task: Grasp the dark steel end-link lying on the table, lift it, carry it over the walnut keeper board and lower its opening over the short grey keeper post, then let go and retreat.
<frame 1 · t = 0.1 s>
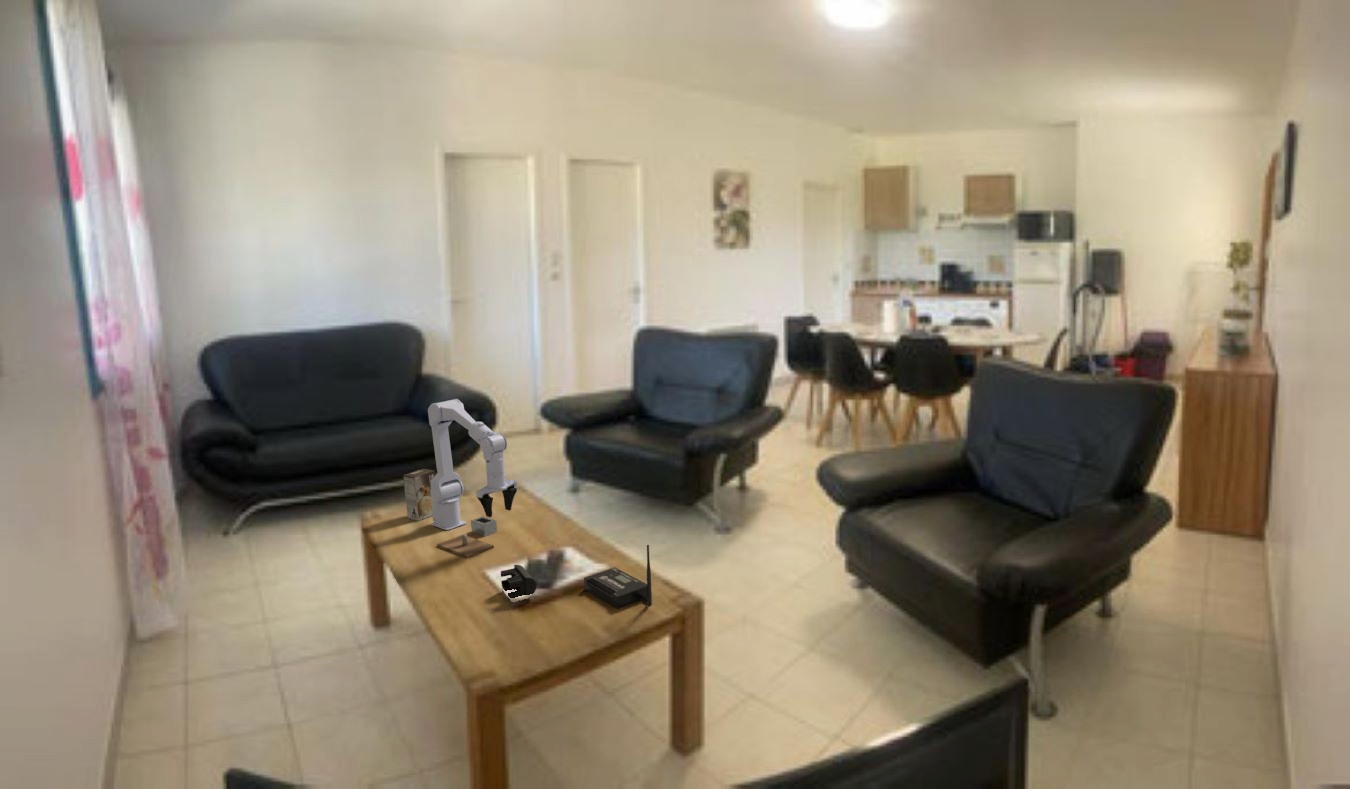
hand: (498, 513, 254), 10 cm above the table, fingers open, 7 cm apart
end cap: (519, 595, 219), on the table
keeper board: (465, 547, 253), on the table
steel link: (484, 531, 266), on the table
coffee box: (423, 516, 283), on the table
wireless controller: (620, 597, 216), on the table
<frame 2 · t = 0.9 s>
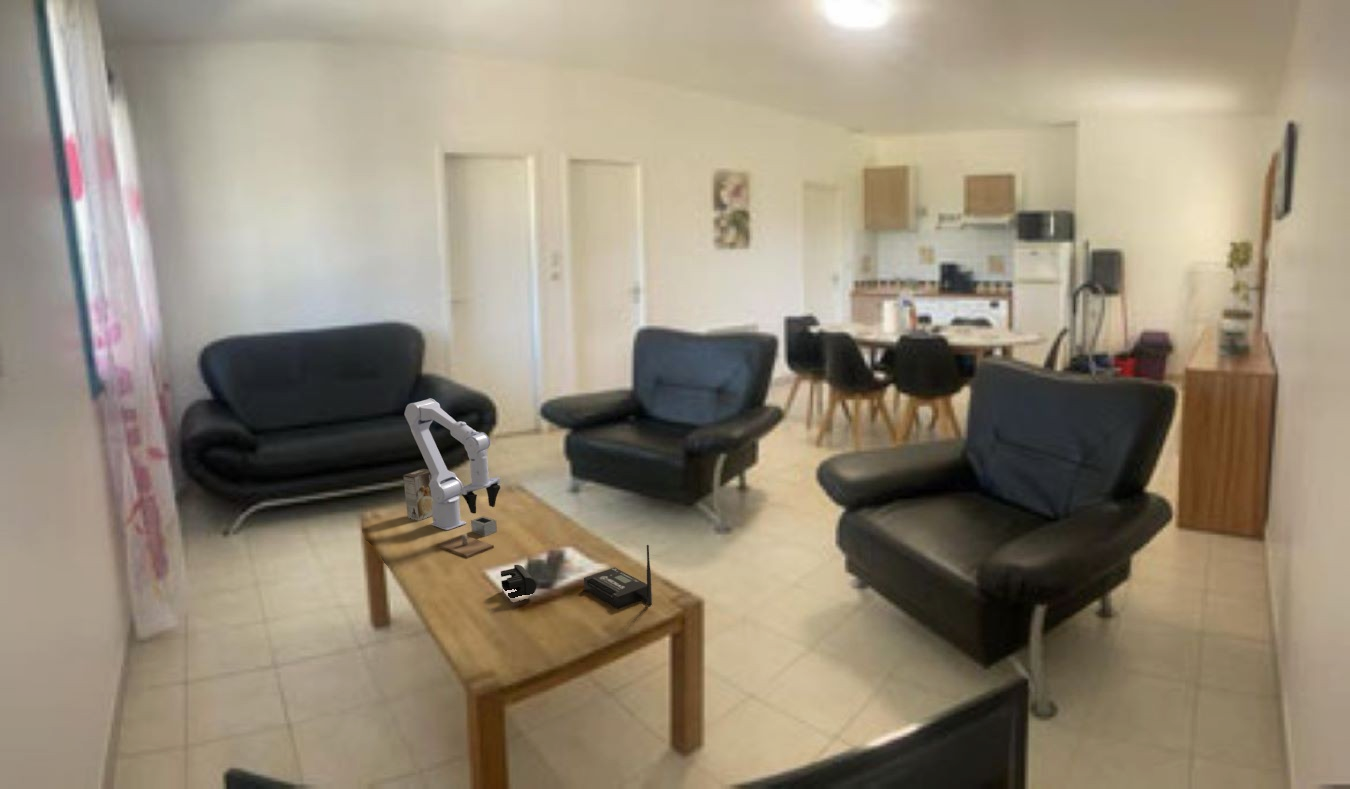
hand: (482, 509, 265), 8 cm above the table, fingers open, 7 cm apart
nothing on the table moved.
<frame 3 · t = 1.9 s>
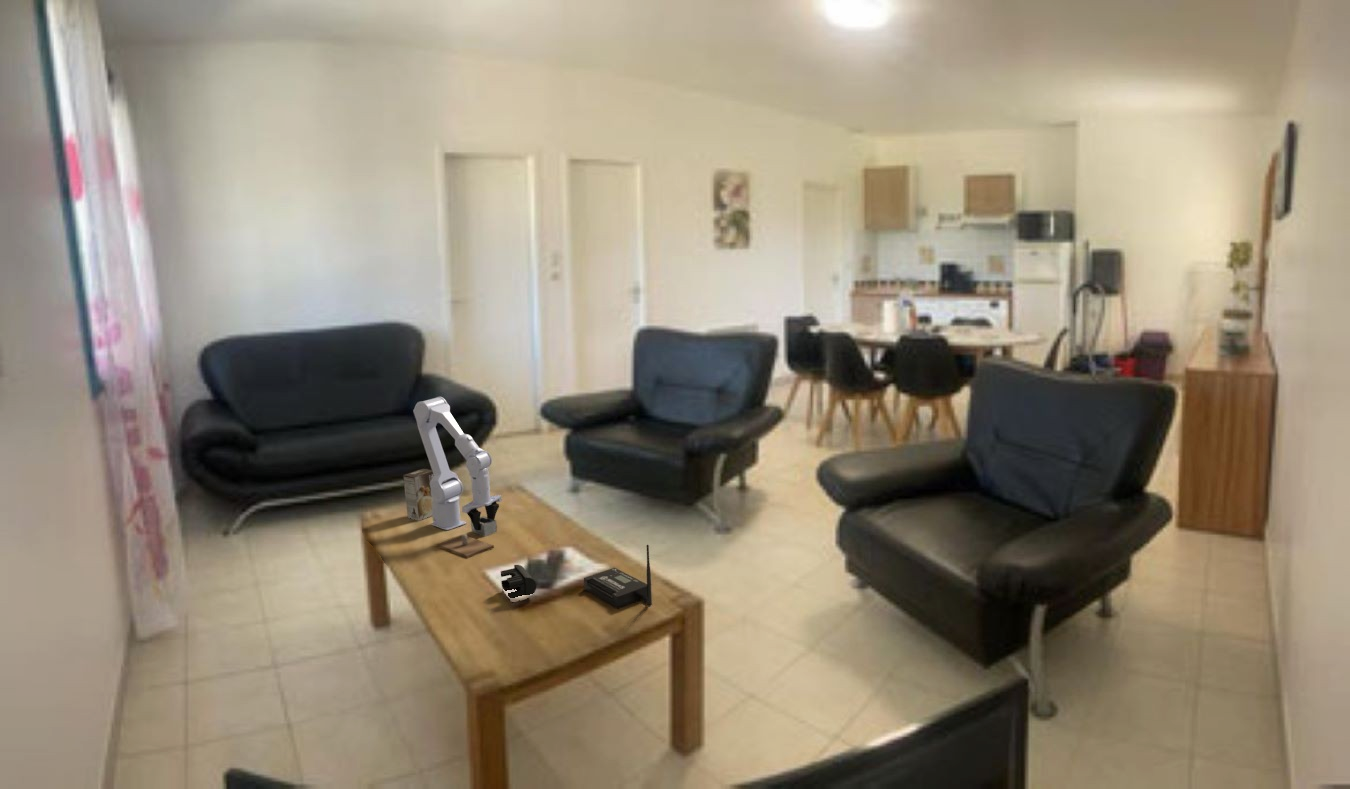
hand: (484, 527, 266), 2 cm above the table, fingers closed on steel link, 5 cm apart
steel link: (484, 531, 266), on the table, touching gripper
everything else where it was.
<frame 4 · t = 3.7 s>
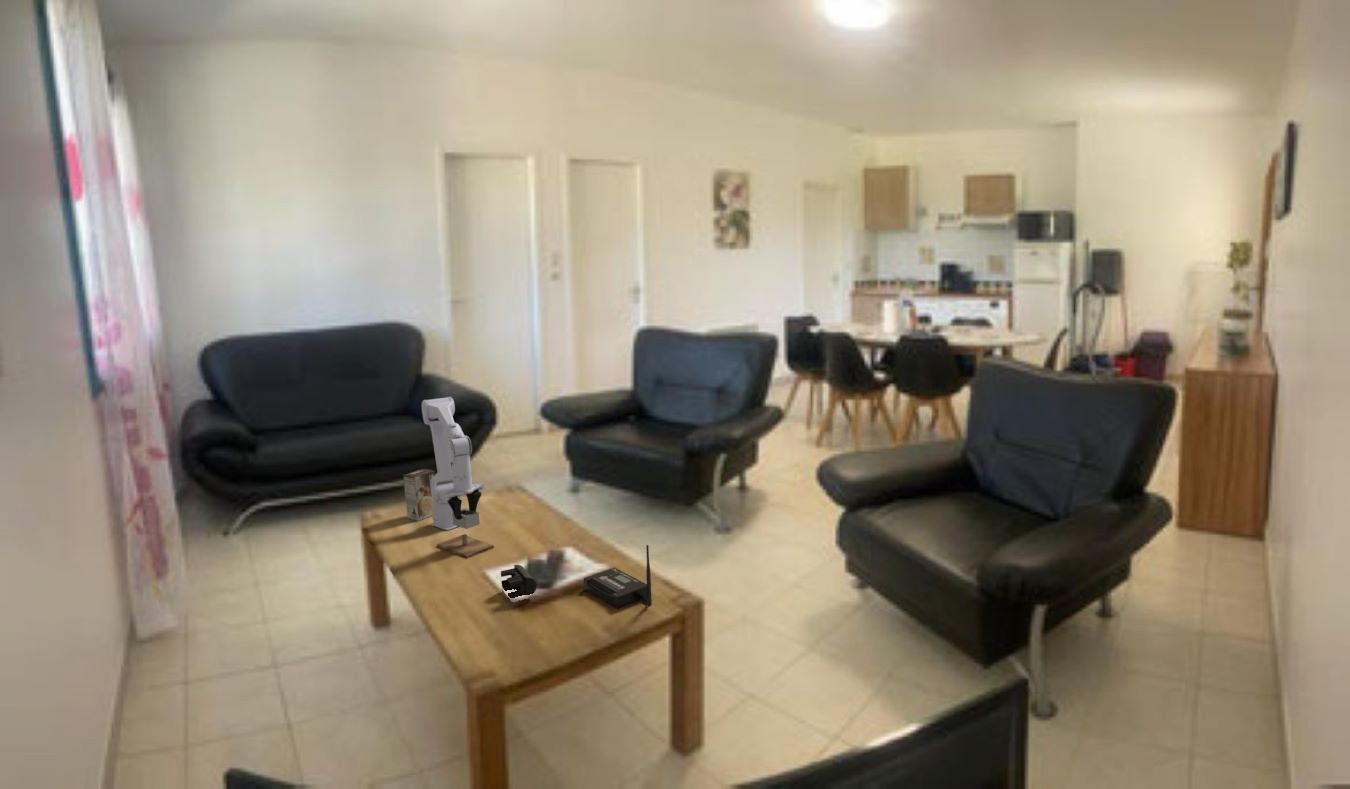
hand: (465, 516, 253), 10 cm above the table, fingers closed on steel link, 5 cm apart
steel link: (466, 524, 253), point 7 cm above the table, touching gripper
everything else where it was.
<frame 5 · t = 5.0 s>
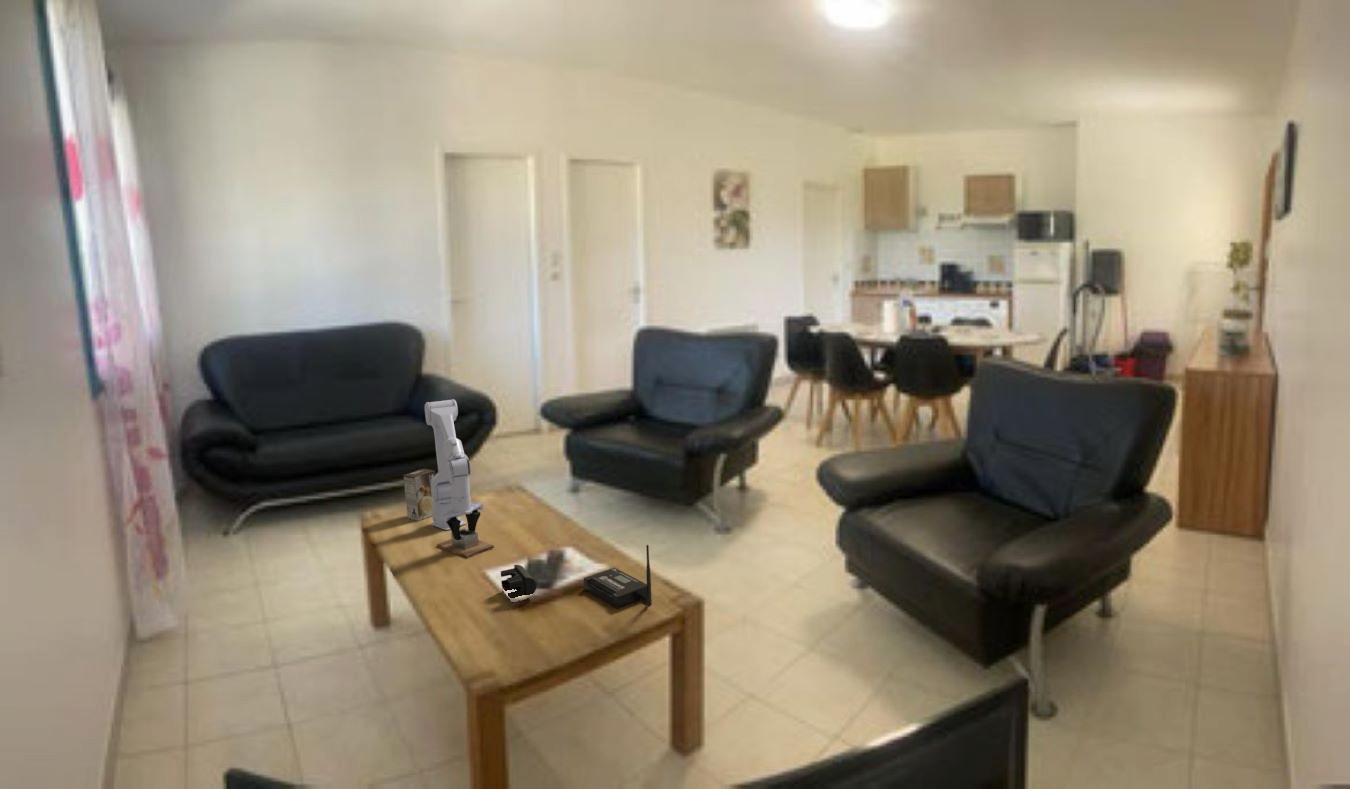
hand: (464, 536, 253), 4 cm above the table, fingers closed on steel link, 5 cm apart
steel link: (465, 544, 253), point 1 cm above the table, touching gripper, keeper board
everything else where it was.
when the fingers open (3 cm above the table, at t = 5.5 s): steel link stays where it is, resting on keeper board.
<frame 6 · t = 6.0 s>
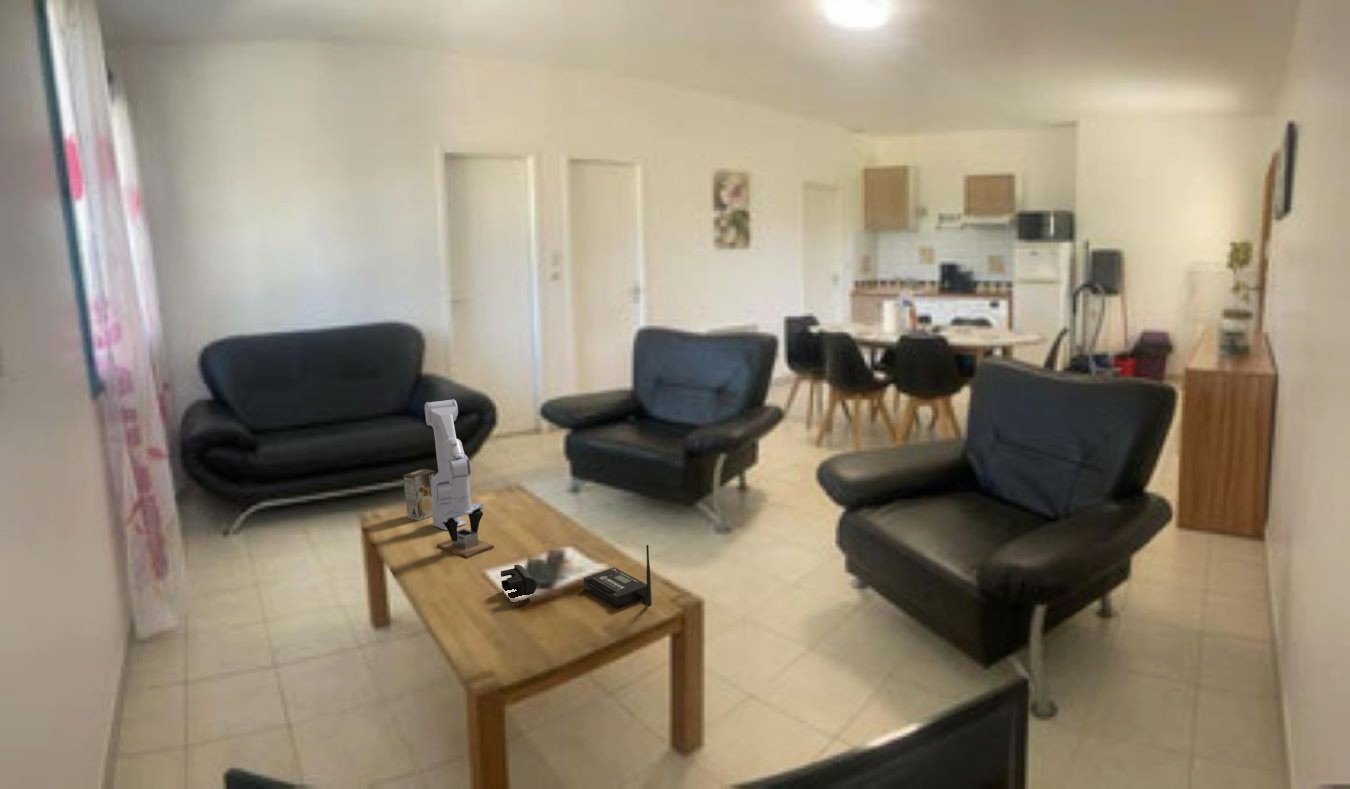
hand: (464, 537, 253), 3 cm above the table, fingers open, 7 cm apart
steel link: (465, 544, 253), point 1 cm above the table, touching keeper board
everything else where it was.
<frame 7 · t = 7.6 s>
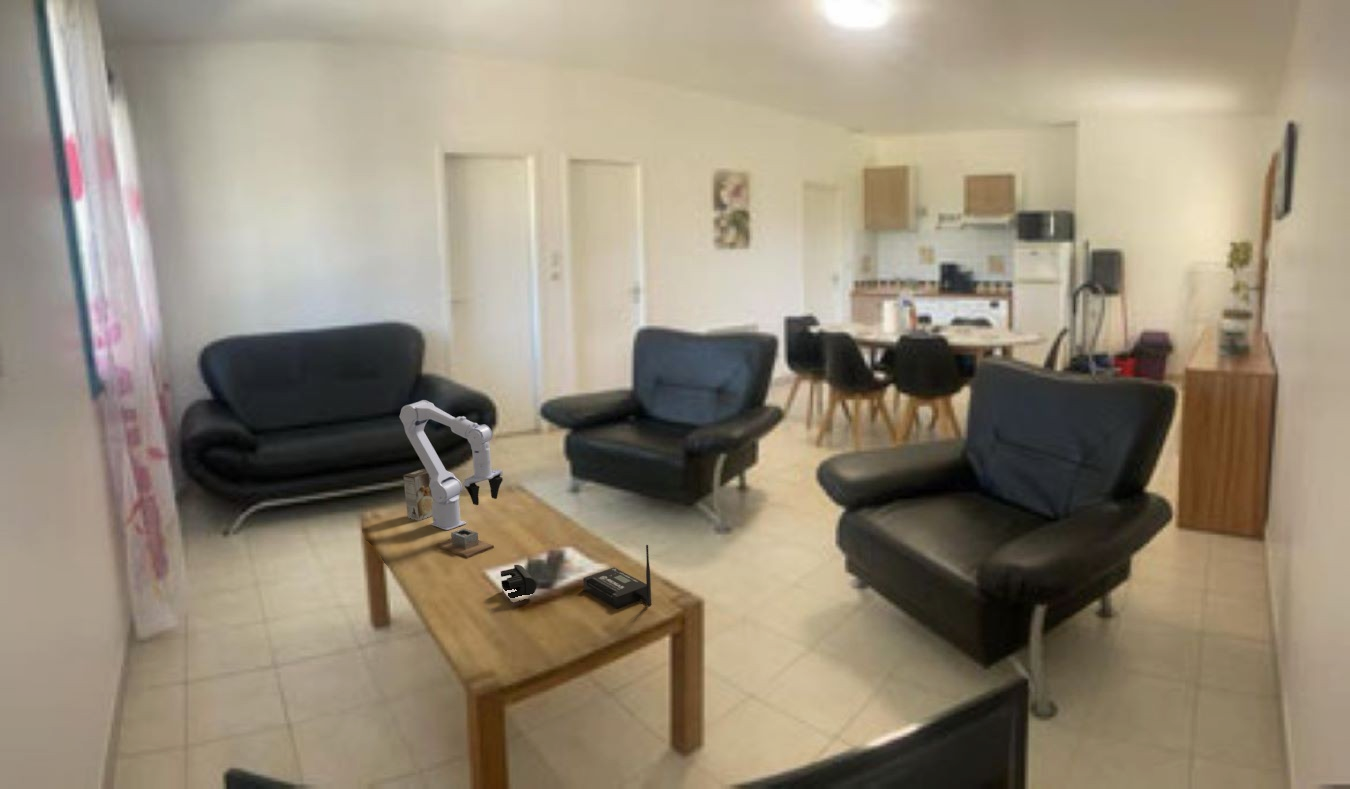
hand: (485, 501, 266), 10 cm above the table, fingers open, 7 cm apart
nothing on the table moved.
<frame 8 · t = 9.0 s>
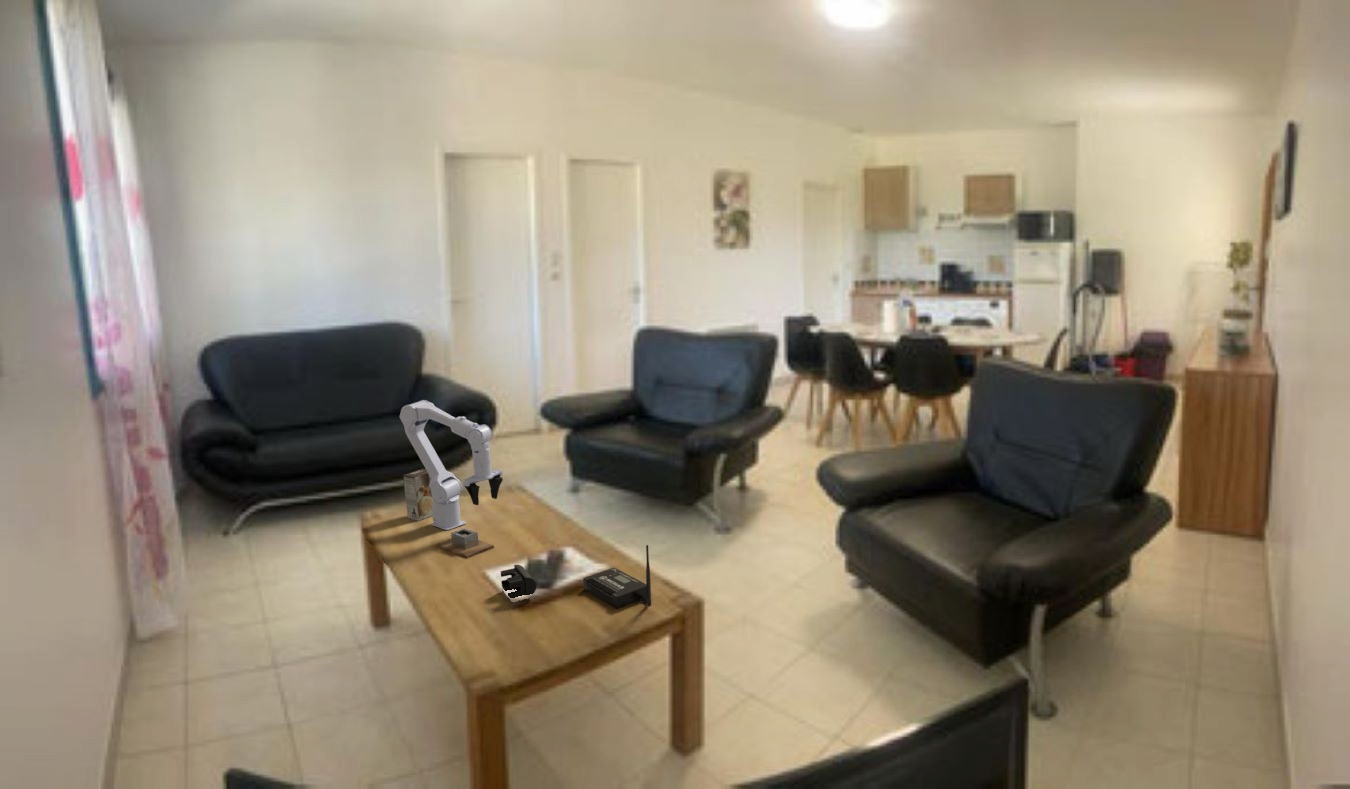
hand: (485, 501, 266), 10 cm above the table, fingers open, 7 cm apart
nothing on the table moved.
at the end: steel link 0.1 cm off-centre on the keeper board, point 0.8 cm above the keeper board's base; the gripper is holding nothing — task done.
